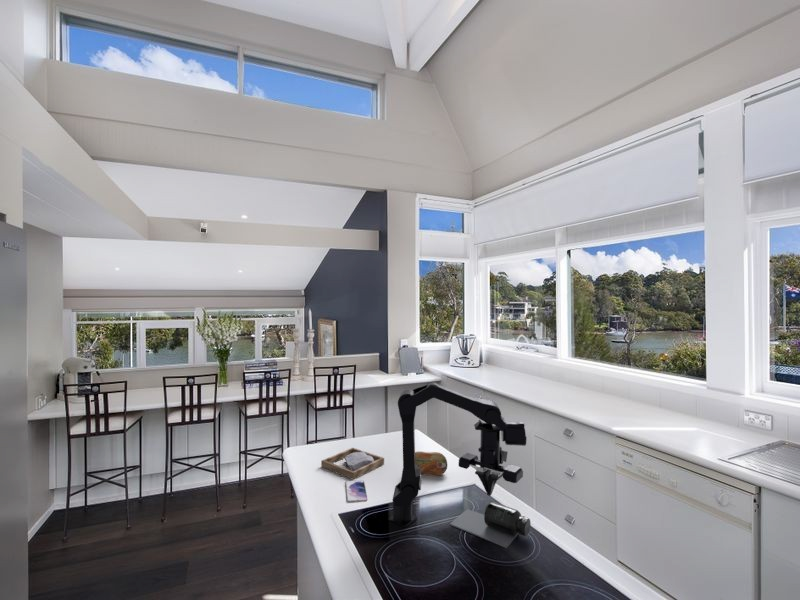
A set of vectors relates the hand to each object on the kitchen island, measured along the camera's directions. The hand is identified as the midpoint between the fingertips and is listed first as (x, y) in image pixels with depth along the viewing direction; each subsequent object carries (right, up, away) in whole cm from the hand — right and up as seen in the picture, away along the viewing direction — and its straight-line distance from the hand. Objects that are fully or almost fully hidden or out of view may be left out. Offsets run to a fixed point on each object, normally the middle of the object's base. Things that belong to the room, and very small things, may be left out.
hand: (489, 495), depth 122 cm
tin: (-16, -9, +35) cm, 40 cm away
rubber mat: (-1, -9, -1) cm, 9 cm away
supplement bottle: (0, -5, 0) cm, 5 cm away
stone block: (-44, -9, +43) cm, 62 cm away
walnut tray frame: (-46, -8, +42) cm, 63 cm away
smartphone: (-43, -9, +20) cm, 48 cm away
